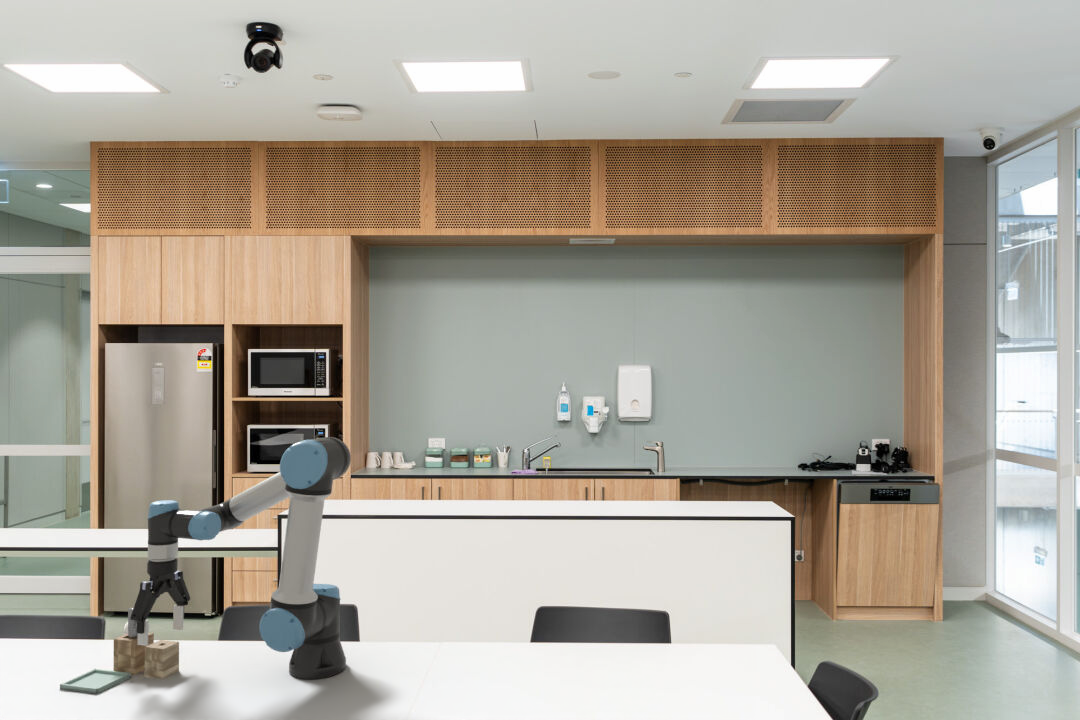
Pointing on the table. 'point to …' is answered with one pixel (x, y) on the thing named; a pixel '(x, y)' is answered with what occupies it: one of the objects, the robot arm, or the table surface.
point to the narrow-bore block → (161, 659)
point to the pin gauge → (132, 626)
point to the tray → (95, 681)
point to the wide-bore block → (130, 654)
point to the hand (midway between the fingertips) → (160, 636)
